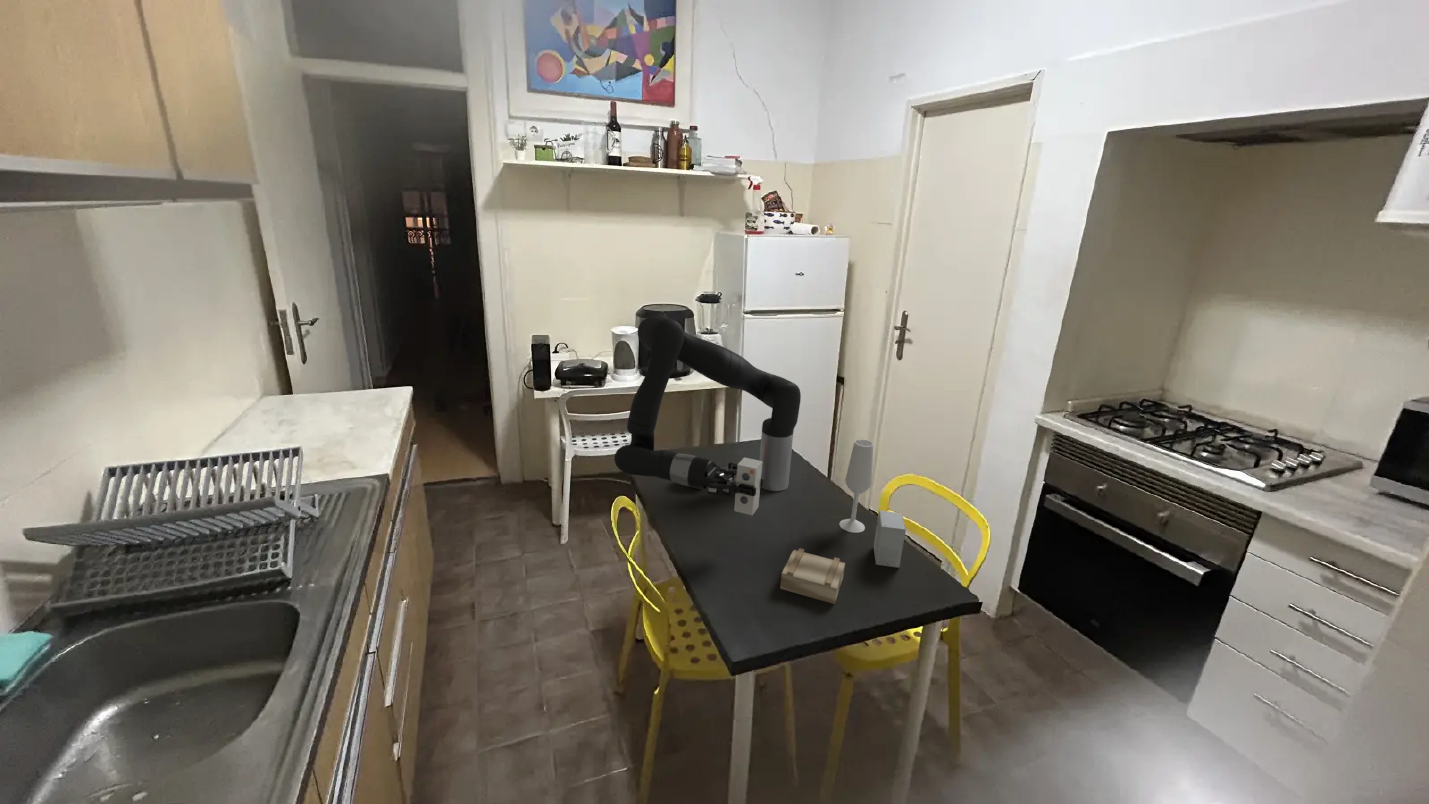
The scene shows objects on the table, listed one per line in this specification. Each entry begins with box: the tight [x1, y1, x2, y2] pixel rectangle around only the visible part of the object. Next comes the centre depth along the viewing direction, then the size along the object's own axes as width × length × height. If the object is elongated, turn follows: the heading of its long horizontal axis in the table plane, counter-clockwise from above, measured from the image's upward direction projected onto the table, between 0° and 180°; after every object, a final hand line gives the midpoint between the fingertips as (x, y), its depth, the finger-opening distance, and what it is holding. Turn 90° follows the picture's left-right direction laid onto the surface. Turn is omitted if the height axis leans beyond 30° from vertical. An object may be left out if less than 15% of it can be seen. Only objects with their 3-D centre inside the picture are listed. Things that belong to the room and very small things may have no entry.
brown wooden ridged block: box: [780, 547, 846, 605], centre depth 126 cm, size 10×12×5 cm
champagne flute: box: [839, 438, 875, 534], centre depth 147 cm, size 7×7×24 cm
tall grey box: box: [734, 457, 762, 516], centre depth 133 cm, size 5×4×12 cm
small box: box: [873, 510, 907, 568], centre depth 137 cm, size 8×6×10 cm
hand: (759, 486), depth 132 cm, fingers closed on tall grey box, 4 cm apart
